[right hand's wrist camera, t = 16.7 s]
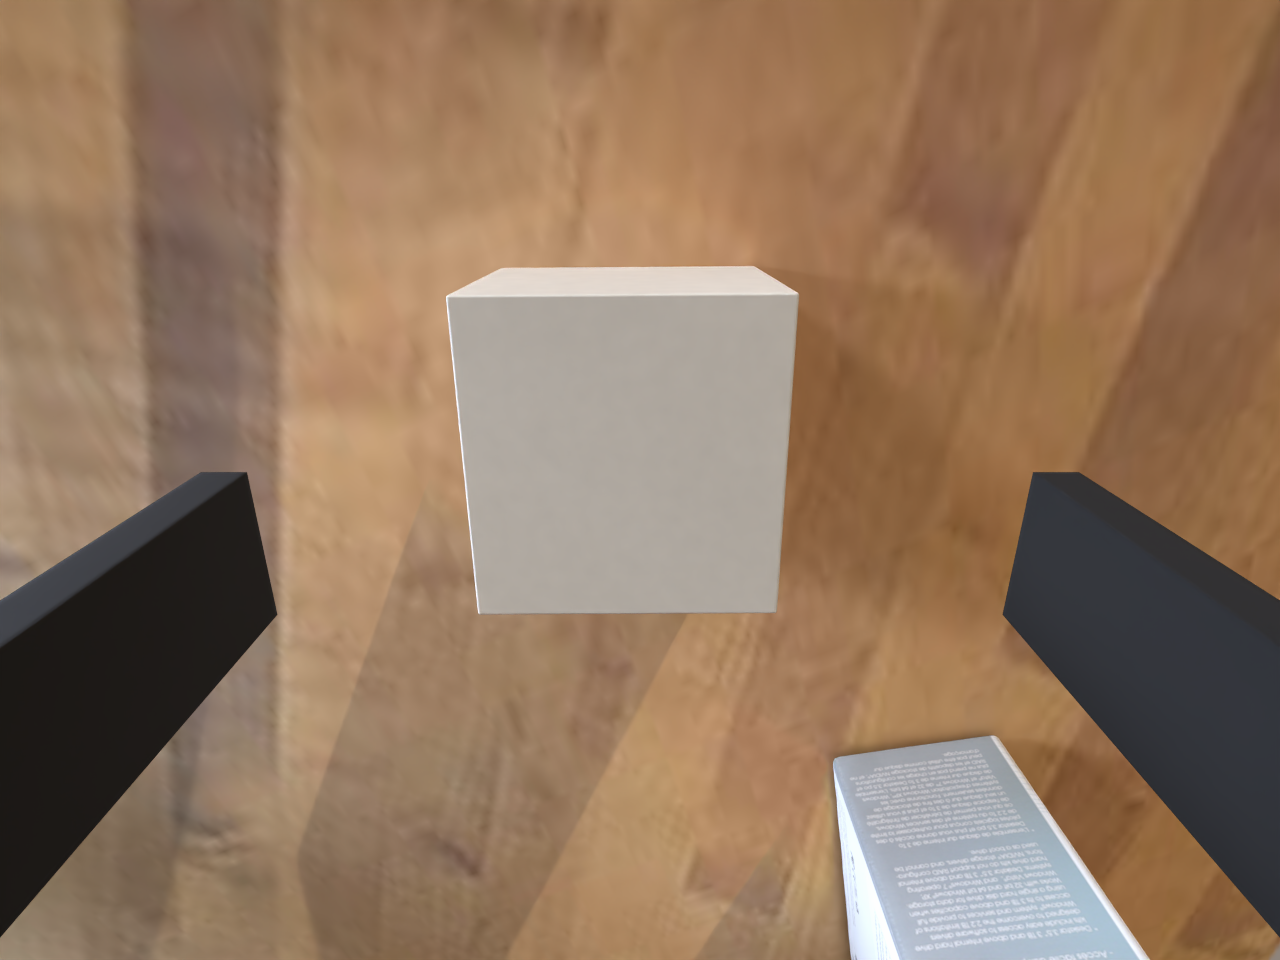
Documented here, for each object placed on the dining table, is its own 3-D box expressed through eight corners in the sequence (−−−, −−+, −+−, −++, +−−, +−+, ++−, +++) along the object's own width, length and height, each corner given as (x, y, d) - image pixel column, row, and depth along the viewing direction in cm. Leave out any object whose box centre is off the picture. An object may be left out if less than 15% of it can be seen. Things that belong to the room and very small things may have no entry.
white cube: (743, 510, 28) (777, 614, 21) (518, 512, 28) (477, 615, 21) (755, 266, 25) (800, 292, 18) (500, 268, 25) (445, 295, 18)
